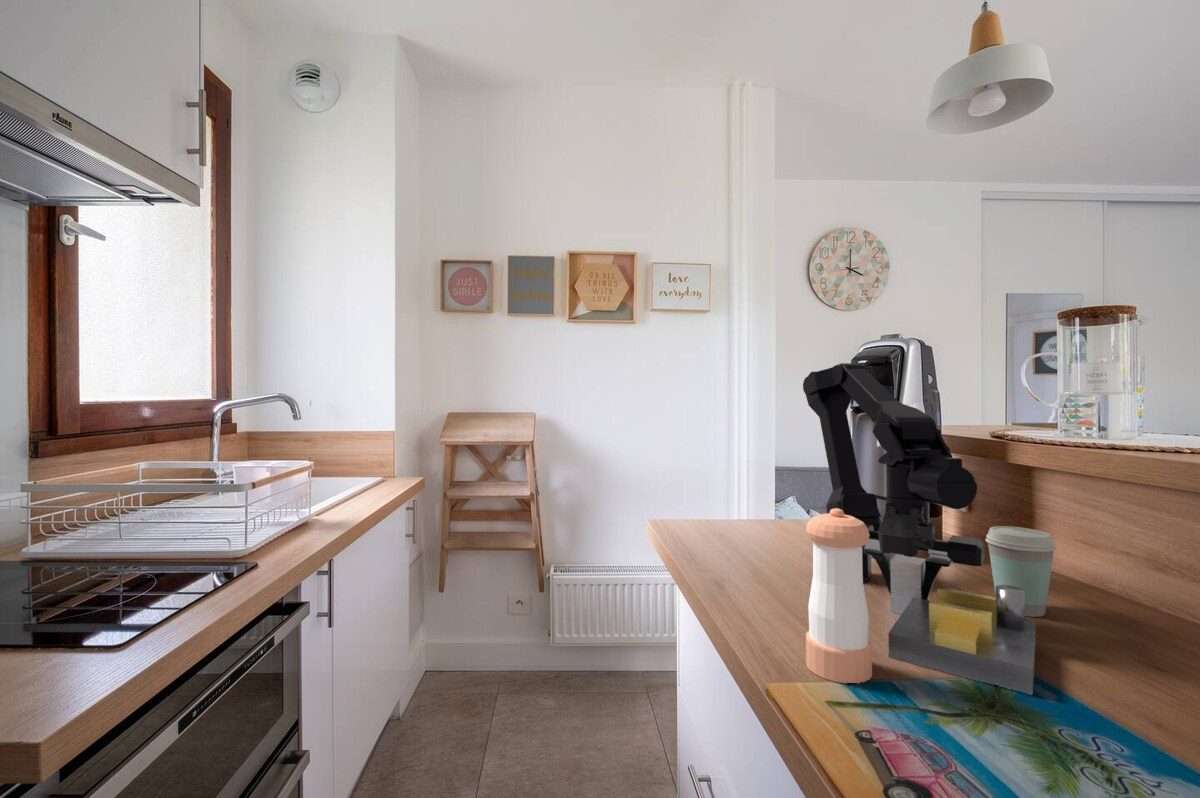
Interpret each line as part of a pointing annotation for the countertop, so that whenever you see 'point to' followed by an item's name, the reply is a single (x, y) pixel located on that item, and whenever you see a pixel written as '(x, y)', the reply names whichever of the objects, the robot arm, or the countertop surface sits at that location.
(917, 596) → the grey rectangular block
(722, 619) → the countertop surface
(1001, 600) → the gray yellow fixture base
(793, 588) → the countertop surface
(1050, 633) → the countertop surface
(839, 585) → the salt shaker
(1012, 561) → the coffee cup
